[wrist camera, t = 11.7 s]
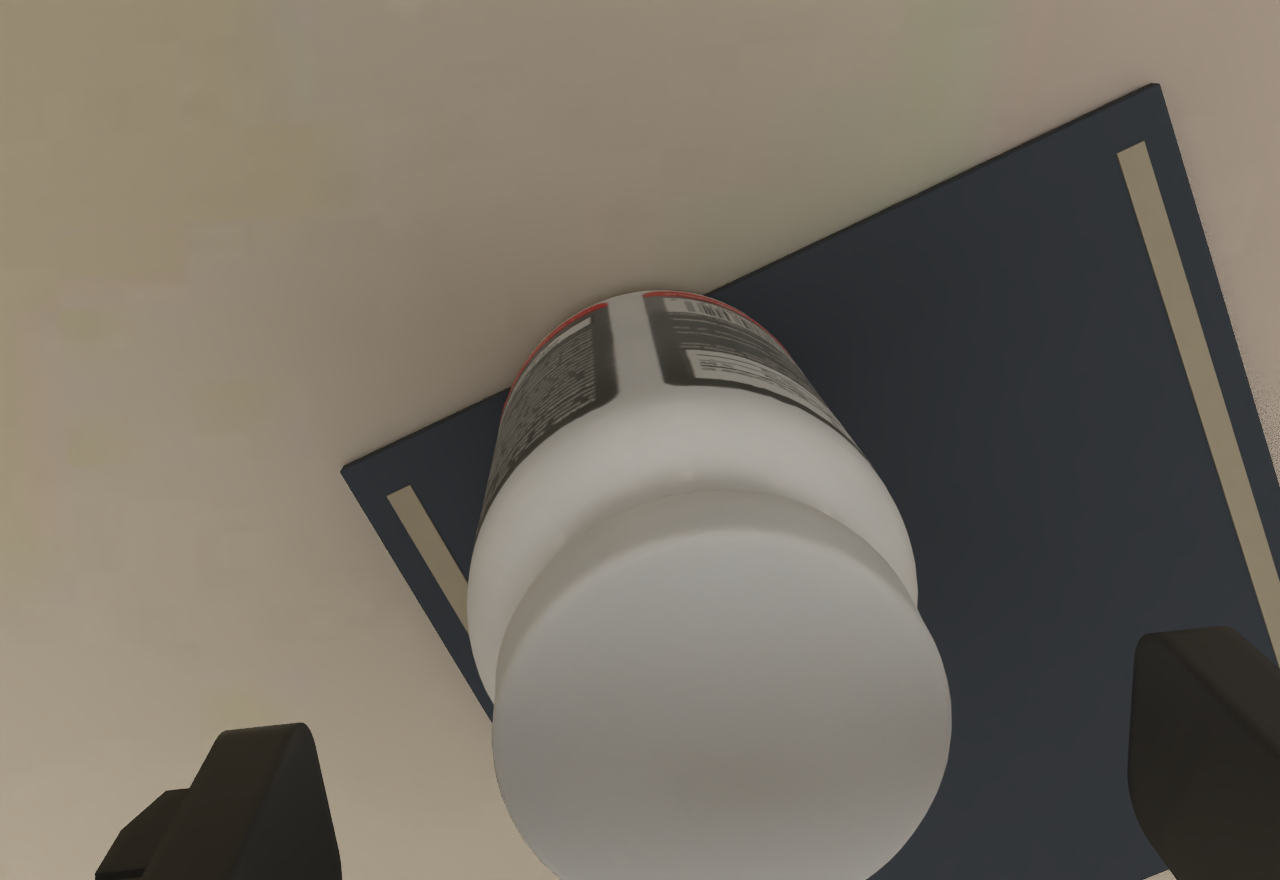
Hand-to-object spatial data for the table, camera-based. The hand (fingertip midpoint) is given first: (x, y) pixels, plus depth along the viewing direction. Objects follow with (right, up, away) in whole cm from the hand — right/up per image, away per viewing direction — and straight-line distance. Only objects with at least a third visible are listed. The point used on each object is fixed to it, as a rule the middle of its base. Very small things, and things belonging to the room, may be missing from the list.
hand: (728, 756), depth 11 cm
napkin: (+4, -1, +12) cm, 12 cm away
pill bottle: (-1, +3, +10) cm, 10 cm away
